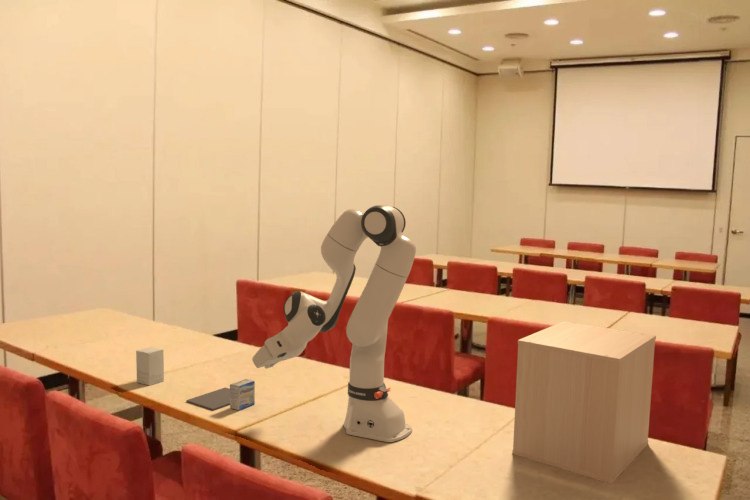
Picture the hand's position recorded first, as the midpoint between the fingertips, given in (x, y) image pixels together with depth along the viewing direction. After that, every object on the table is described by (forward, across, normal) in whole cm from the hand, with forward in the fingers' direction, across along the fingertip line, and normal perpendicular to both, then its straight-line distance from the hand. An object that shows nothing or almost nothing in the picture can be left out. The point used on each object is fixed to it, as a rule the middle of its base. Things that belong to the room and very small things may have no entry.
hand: (267, 366), depth 216 cm
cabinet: (-55, -39, +78) cm, 103 cm away
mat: (+28, 0, -5) cm, 29 cm away
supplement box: (+54, +3, -29) cm, 61 cm away
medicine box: (+20, 0, +4) cm, 21 cm away
